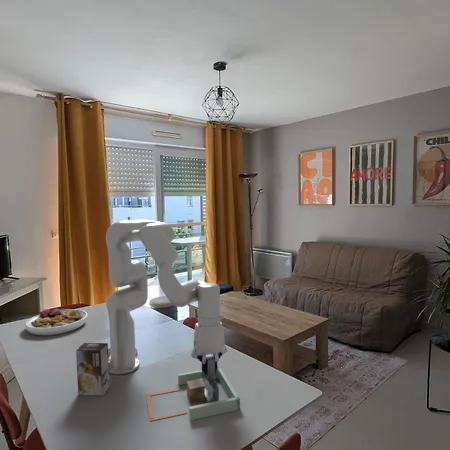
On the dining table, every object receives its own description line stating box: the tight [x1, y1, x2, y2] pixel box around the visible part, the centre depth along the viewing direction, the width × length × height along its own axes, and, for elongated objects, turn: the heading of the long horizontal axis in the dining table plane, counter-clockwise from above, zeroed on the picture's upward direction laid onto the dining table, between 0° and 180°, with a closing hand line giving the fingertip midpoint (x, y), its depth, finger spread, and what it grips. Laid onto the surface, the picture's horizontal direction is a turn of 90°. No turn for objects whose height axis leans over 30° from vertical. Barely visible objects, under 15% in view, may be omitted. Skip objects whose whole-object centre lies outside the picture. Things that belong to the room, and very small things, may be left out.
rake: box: [202, 354, 220, 403], centre depth 109 cm, size 4×14×13 cm, turn 18°
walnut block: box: [186, 379, 206, 405], centre depth 107 cm, size 5×5×5 cm
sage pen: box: [177, 366, 241, 421], centre depth 109 cm, size 16×21×4 cm
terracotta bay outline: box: [146, 388, 187, 422], centre depth 104 cm, size 11×14×1 cm
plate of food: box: [25, 308, 88, 336], centre depth 174 cm, size 30×30×8 cm
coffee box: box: [75, 342, 110, 396], centre depth 112 cm, size 9×6×16 cm
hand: (209, 372), depth 109 cm, fingers closed on rake, 2 cm apart
